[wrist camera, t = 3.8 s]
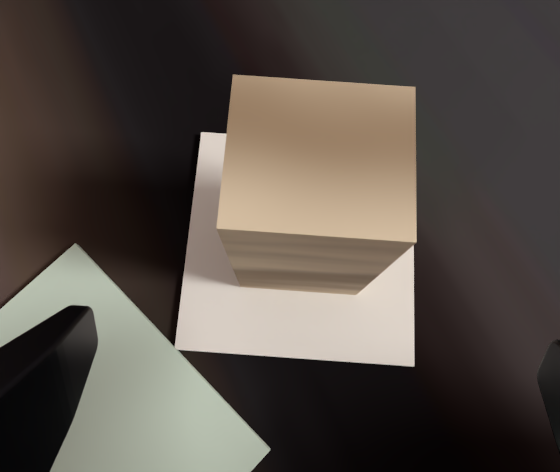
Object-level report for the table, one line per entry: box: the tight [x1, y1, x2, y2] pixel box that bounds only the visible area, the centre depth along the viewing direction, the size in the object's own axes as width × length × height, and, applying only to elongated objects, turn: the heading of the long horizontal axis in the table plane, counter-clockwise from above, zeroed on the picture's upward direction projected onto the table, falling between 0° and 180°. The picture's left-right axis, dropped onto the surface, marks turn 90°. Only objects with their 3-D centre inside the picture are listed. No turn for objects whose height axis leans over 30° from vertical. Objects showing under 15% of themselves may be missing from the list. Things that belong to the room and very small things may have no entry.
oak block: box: [216, 75, 417, 295], centre depth 17 cm, size 4×5×9 cm
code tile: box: [175, 132, 414, 367], centre depth 21 cm, size 10×10×1 cm
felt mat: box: [0, 243, 270, 472], centre depth 19 cm, size 12×12×1 cm
